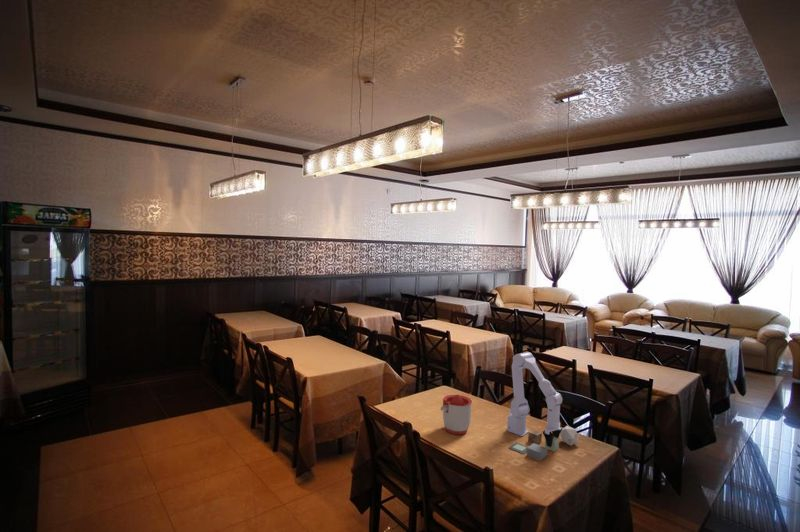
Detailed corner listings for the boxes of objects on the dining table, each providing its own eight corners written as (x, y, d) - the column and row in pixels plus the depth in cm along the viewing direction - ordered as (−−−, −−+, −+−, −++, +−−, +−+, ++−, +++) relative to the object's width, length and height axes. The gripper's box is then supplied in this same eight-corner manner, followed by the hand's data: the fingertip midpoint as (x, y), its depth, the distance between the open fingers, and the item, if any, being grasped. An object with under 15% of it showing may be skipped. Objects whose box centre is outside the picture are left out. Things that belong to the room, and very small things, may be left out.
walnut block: (528, 441, 205) (528, 432, 205) (532, 438, 209) (532, 429, 208) (537, 445, 201) (537, 435, 201) (541, 441, 205) (541, 432, 205)
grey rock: (562, 447, 201) (575, 435, 197) (552, 432, 208) (565, 420, 205) (572, 450, 205) (585, 438, 201) (562, 435, 212) (575, 423, 208)
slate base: (526, 455, 191) (527, 447, 191) (533, 450, 196) (533, 443, 196) (540, 461, 186) (540, 453, 186) (546, 456, 191) (547, 448, 191)
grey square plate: (508, 448, 197) (508, 447, 197) (515, 443, 203) (516, 441, 203) (523, 454, 191) (523, 453, 191) (530, 448, 197) (530, 447, 197)
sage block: (544, 447, 199) (545, 438, 199) (548, 444, 202) (549, 435, 202) (554, 451, 195) (555, 441, 195) (558, 448, 199) (559, 438, 199)
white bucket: (434, 426, 219) (435, 391, 218) (461, 422, 225) (463, 388, 224) (447, 439, 204) (448, 401, 203) (476, 434, 210) (477, 398, 210)
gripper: (555, 424, 190) (554, 451, 191) (566, 415, 201) (565, 441, 201) (541, 419, 195) (540, 446, 196) (553, 411, 206) (551, 436, 206)
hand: (552, 443), depth 199 cm, fingers open, 7 cm apart
